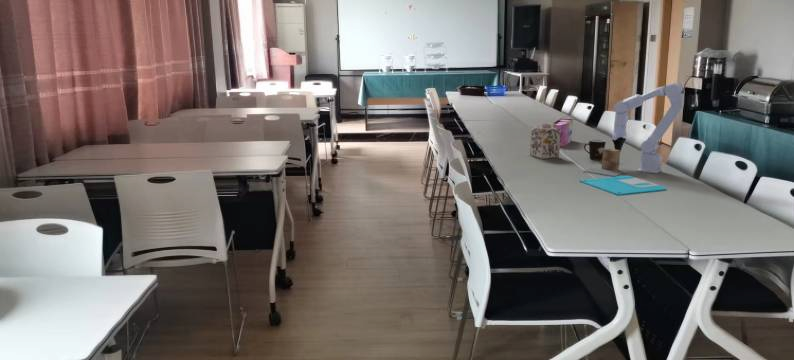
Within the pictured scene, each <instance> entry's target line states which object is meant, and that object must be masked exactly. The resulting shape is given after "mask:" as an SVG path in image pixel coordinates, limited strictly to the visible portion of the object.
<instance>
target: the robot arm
mask: <svg viewBox="0 0 794 360" xmlns="http://www.w3.org/2000/svg"><path fill="white" fill-rule="evenodd" d="M685 93H686V91H685V89H684V86H683V85H682V84H681V83H679V82H673V83H669V84H667V85H663V86H659V87H656V88H654V89H653V90H650V91H648V92H646V93H643V94H642V95H641V94H638V93H637V94H632V96H629V97H627V98H623V100H621V101H618V102H616V103H615V104H614V109H613V110H614V111H615V115H614V121H613V122H614V123H613V124H614V125H613V132H611V133H610V135H611V141H612V142H613V146H614V149H616V150H620V153H621V152H622V149H623V145H624V143H625V142H626V140H627V138H626V137H627V136H628V135H627V134H628V133H627V122H628V111H630V110H634V109H636V108H638V107H640V106H643V105H644V102H646V101H648V100H650V99H653V98H655V97H656V98H657V97H658V96H662V97H665V96H666V97H667V98H668V99H669V103H670V107H669V108H668V110H667V111H666V112H665V114H664V116H663V117H662V118H661V120H660V121H659V122H658V124H657V126H656V127H655V128H654V130H653V131H652V133H651V134H650V135H649V136H648V137H647V139H645V140H644V141H642V143H641V144H640V150H641V153H640V162H639V163H640V165H639V168H638V169H636V172H637V171H638V172H645V173H650V174H658V173H660V172H662V165H663V164H662V163H663V155H662V154H661V153H658V151H657V149H659V148H660V142H661V140H662V138H663V137H664V136H665V133H666V132H667V131H668V129H669V128H670V126H671V125H672V124H673V122H674V121H675V120H676V118H677V116H678V115H679V113H680V112H681V111H682V110H683V108H684V105H685Z"/></svg>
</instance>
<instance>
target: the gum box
mask: <svg viewBox="0 0 794 360" xmlns="http://www.w3.org/2000/svg"><path fill="white" fill-rule="evenodd" d="M573 121H574V120H573V118H559V119H558V120H556V121H554V122H553V123H552V127H555V128H557V129H558V130H559V132H560V134H561V135H560V147H565V146H567V145H568V144H570V143H571V142H572V137H573V136H572V135H573Z"/></svg>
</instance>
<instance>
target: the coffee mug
mask: <svg viewBox="0 0 794 360" xmlns="http://www.w3.org/2000/svg"><path fill="white" fill-rule="evenodd" d="M606 142H607V140H605V139H599V138H591V139H589V140H588V143H585V144H584V147H583V149H584V151H585V152H586V153H587V154H589V160H592V161H602V158H603V149H606V147H605V146H606V144H607V143H606ZM587 145H588V146H589V147H588V148H589V149H588V150H589V151H588V150H587V149H586V146H587Z"/></svg>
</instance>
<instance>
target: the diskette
mask: <svg viewBox="0 0 794 360" xmlns="http://www.w3.org/2000/svg"><path fill="white" fill-rule="evenodd" d="M579 183H582V184H584V185H587V186H590V187H593V188H596V189H599V190H600V191H601V190H602V191H604V192H607V193H609V194H612V195H615V196H626V195H635V194H644V193H654V192H662V191H666V190H667V187H666V186H663V185H660V184H657V183H654V182H652V181H651V182H650V181H648V180H644V179H641V178H638V177H634V176H631V175H618V176H616V177H614V176H609V177H607V176H606V177H597V178H588V179H579Z"/></svg>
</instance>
